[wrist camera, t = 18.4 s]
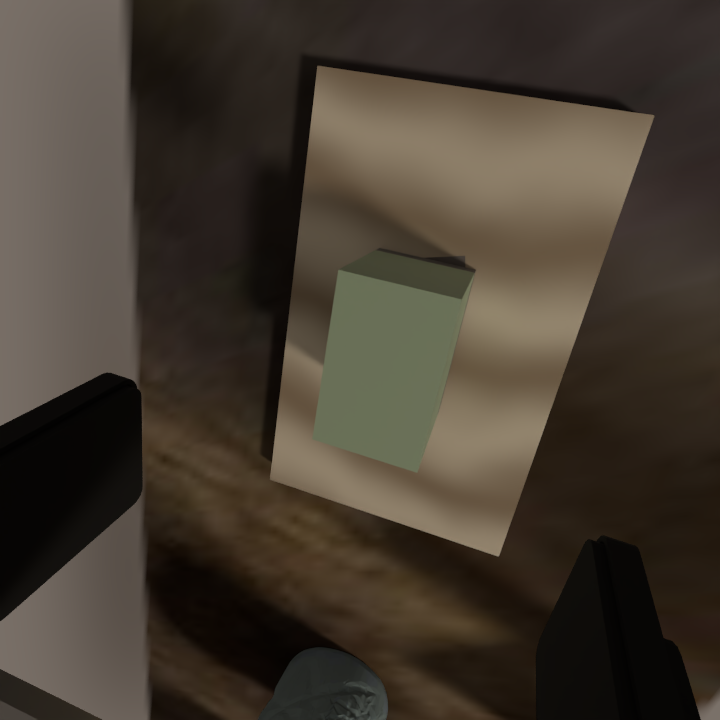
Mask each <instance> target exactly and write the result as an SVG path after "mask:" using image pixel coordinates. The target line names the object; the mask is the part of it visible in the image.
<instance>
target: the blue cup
mask: <svg viewBox="0 0 720 720" xmlns="http://www.w3.org/2000/svg"><path fill="white" fill-rule="evenodd" d="M387 712H388V701H387V693H386V692H385V688H384V686H383V684H382V682H381V680H380V679H379V677H378V676H377V675H376V674H375V673H374V672H373V671H372V670H371V669H370V668H369V667H368V666H367V665H366V664H364V663H363V662H362V661H360V660H359V659H357V658H355V657H354V656H352V655H350V654H348V653H345V652H342V651H339V650H336V649H332V648H323V647H315V648H310V649H306V650H304V651H302V652H300V653H299V654H297V655H296V656H295V657H294V658H293V659H292V660H291V661H290V663H289V665H288V666H287V668H286V670H285V672H284V673H283V675H282V677H281V679H280V680H279V682H278V684H277V686H276V688H275V692H274V696H273V698H272V699H271V700H270V701H269V702H268V703H267V706H266V707H265V708H264V709H263V711H262V712H261V714H260V716H259V718H258V720H386V717H387Z"/></svg>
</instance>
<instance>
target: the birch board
mask: <svg viewBox="0 0 720 720" xmlns="http://www.w3.org/2000/svg"><path fill="white" fill-rule="evenodd" d="M653 118H654V115H648V114H641V113H634V112H627V111H621V110H614V109H607V108H600V107H594V106H587V105H580V104H573V103H567V102H560V101H553V100H546V99H539V98H533V97H526V96H519V95H512V94H506V93H499V92H492V91H485V90H479V89H472V88H465V87H458V86H452V85H445V84H438V83H431V82H425V81H418V80H411V79H404V78H397V77H391V76H384V75H377V74H370V73H364V72H357V71H350V70H343V69H337V68H330V67H323V66H317V74H316V83H315V92H314V100H313V109H312V118H311V127H310V135H309V144H308V153H307V162H306V170H305V179H304V188H303V196H302V205H301V214H300V223H299V231H298V240H297V249H296V258H295V266H294V275H293V284H292V292H291V301H290V310H289V319H288V327H287V336H286V345H285V354H284V362H283V371H282V380H281V388H280V397H279V406H278V415H277V423H276V432H275V441H274V450H273V458H272V467H271V476H270V480H273V481H276V482H279V483H282V484H285V485H288V486H291V487H294V488H297V489H300V490H303V491H306V492H309V493H312V494H315V495H317V496H320V497H323V498H326V499H329V500H332V501H335V502H338V503H341V504H344V505H347V506H350V507H353V508H356V509H359V510H362V511H365V512H368V513H371V514H374V515H377V516H380V517H383V518H386V519H389V520H392V521H395V522H397V523H400V524H403V525H406V526H409V527H412V528H415V529H418V530H421V531H424V532H427V533H430V534H433V535H436V536H439V537H442V538H445V539H448V540H451V541H454V542H457V543H460V544H463V545H466V546H469V547H472V548H475V549H477V550H480V551H483V552H486V553H489V554H492V555H495V556H498V557H499V554H500V552H501V549H502V546H503V543H504V540H505V537H506V535H507V532H508V529H509V526H510V523H511V520H512V518H513V515H514V512H515V509H516V506H517V503H518V501H519V498H520V495H521V492H522V489H523V486H524V484H525V481H526V478H527V475H528V472H529V469H530V467H531V464H532V461H533V458H534V455H535V452H536V450H537V447H538V444H539V441H540V438H541V436H542V433H543V430H544V427H545V424H546V421H547V419H548V416H549V413H550V410H551V407H552V404H553V402H554V399H555V396H556V393H557V390H558V387H559V385H560V382H561V379H562V376H563V373H564V370H565V368H566V365H567V362H568V359H569V356H570V353H571V351H572V348H573V345H574V342H575V339H576V336H577V334H578V331H579V328H580V325H581V322H582V319H583V317H584V314H585V311H586V308H587V305H588V302H589V300H590V297H591V294H592V291H593V288H594V285H595V283H596V280H597V277H598V274H599V271H600V268H601V266H602V263H603V260H604V257H605V254H606V251H607V249H608V246H609V243H610V240H611V237H612V234H613V232H614V229H615V226H616V223H617V220H618V217H619V215H620V212H621V209H622V206H623V203H624V200H625V198H626V195H627V192H628V189H629V186H630V183H631V181H632V178H633V175H634V172H635V169H636V167H637V164H638V161H639V158H640V155H641V152H642V150H643V147H644V144H645V141H646V138H647V135H648V133H649V130H650V127H651V124H652V121H653ZM379 248H382V249H387V250H391V251H396V252H400V253H404V254H409V255H413V256H418V257H422V258H426V259H431V260H435V261H439V262H444V263H448V264H453V265H457V266H461V267H466V268H470V269H475V270H476V272H475V276H474V280H473V284H472V287H471V291H470V295H469V299H468V303H467V307H466V310H465V314H464V318H463V322H462V326H461V329H460V333H459V337H458V341H457V345H456V348H455V352H454V356H453V360H452V364H451V368H450V371H449V375H448V379H447V383H446V387H445V390H444V394H443V398H442V402H441V406H440V409H439V413H438V415H437V418H436V421H435V424H434V427H433V430H432V432H431V435H430V438H429V441H428V444H427V447H426V449H425V452H424V455H423V458H422V461H421V464H420V466H419V469H418V472H417V473H416V472H413V471H410V470H407V469H404V468H400V467H397V466H394V465H391V464H388V463H385V462H382V461H378V460H375V459H372V458H369V457H366V456H363V455H360V454H357V453H353V452H350V451H347V450H344V449H341V448H338V447H335V446H331V445H328V444H325V443H322V442H319V441H316V440H313V439H312V437H313V431H314V424H315V418H316V411H317V405H318V399H319V392H320V386H321V379H322V373H323V366H324V360H325V353H326V347H327V340H328V334H329V327H330V321H331V314H332V308H333V301H334V295H335V289H336V282H337V276H338V270H339V269H341V268H343V267H345V266H346V265H348V264H350V263H352V262H354V261H356V260H358V259H360V258H362V257H363V256H365V255H367V254H369V253H371V252H373V251H375V250H377V249H379Z"/></svg>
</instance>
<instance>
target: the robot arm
mask: <svg viewBox="0 0 720 720" xmlns="http://www.w3.org/2000/svg"><path fill="white" fill-rule="evenodd" d="M141 492H142V408H141V392H140V390H138V389H137V385H136V384H135V382H134V381H132V380H131V379H127V378H125V377H122V376H118V375H115V374H112V373H104V374H102V375H100V376H98V377H96V378H94V379H92V380H90V381H88V382H86V383H84V384H82V385H80V386H78V387H76V388H74V389H72V390H70V391H68V392H66V393H64V394H62V395H60V396H59V397H56V398H54V399H52V400H50V401H49V402H47V403H45V404H43V405H41V406H39V407H37V408H35V409H33V410H31V411H29V412H27V413H25V414H23V415H21V416H19V417H17V418H15V419H13V420H12V421H9V422H7V423H5V424H4V425H1V426H0V621H1V620H3V619H4V618H5V617H6V616H7V615H9V613H11V612H12V611H13V610H14V609H15V608H16V607H17V606H19V605H20V604H21V603H22V602H23V601H24V600H26V599H27V598H28V597H29V596H30V595H31V594H32V593H34V592H35V591H36V590H37V589H38V588H39V587H40V586H41V585H43V584H44V583H45V582H46V581H47V580H48V579H49V578H51V577H52V576H53V575H54V574H55V573H56V572H57V571H59V570H60V569H61V568H62V567H63V566H64V565H65V564H67V562H69V561H70V560H71V559H72V558H73V557H74V556H76V555H77V554H78V553H79V552H80V551H81V550H82V549H84V548H85V547H86V546H87V545H88V544H89V543H90V542H91V541H93V540H94V539H95V538H96V537H97V536H98V535H100V534H101V533H102V532H103V531H104V530H105V529H106V528H108V527H109V526H110V525H111V524H112V523H113V522H114V521H115V520H117V519H118V518H119V517H120V516H121V515H122V514H123V513H125V512H126V511H127V510H128V509H129V508H130V507H131V506H133V505H134V504H135V503H136V501H137V500H138V499H139V497H140V495H141ZM536 718H537V720H701V719H700V716H699V712H698V709H697V706H696V703H695V699H694V696H693V693H692V689H691V686H690V683H689V679H688V676H687V673H686V669H685V666H684V663H683V659H682V656H681V654H680V652H679V649H678V647H677V646H676V645H675V644H674V643H673V641H670V640H667V639H665V638H663V635H662V631H661V627H660V624H659V620H658V616H657V613H656V609H655V606H654V602H653V598H652V595H651V591H650V587H649V584H648V580H647V577H646V573H645V569H644V566H643V562H642V558H641V555H640V552H639V549H638V548H637V547H636V546H634V545H631V544H628V543H625V542H622V541H619V540H616V539H613V538H610V537H607V536H604V535H603V536H600V537H599V538H598V540H597V542H596V541H593V540H590V539H589V540H587V541H586V542H585V544H584V546H583V548H582V550H581V552H580V554H579V556H578V559H577V561H576V563H575V565H574V567H573V569H572V571H571V573H570V576H569V578H568V580H567V582H566V584H565V586H564V588H563V591H562V593H561V595H560V597H559V599H558V601H557V603H556V605H555V608H554V610H553V612H552V614H551V616H550V618H549V620H548V622H547V625H546V627H545V629H544V631H543V633H542V635H541V637H540V640H539V643H538V647H537V653H536ZM0 720H102V719H100V718H98V717H95V716H94V715H92V714H90V713H88V712H85V711H84V710H82V709H80V708H78V707H75V706H74V705H72V704H69V703H67V702H66V701H64V700H62V699H60V698H58V697H55V696H54V695H52V694H50V693H47V692H45V691H43V690H41V689H39V688H37V687H35V686H33V685H31V684H29V683H27V682H25V681H23V680H21V679H19V678H17V677H15V676H13V675H11V674H9V673H7V672H5V671H3V670H1V669H0Z"/></svg>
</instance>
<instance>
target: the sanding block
mask: <svg viewBox="0 0 720 720" xmlns="http://www.w3.org/2000/svg"><path fill="white" fill-rule="evenodd" d="M475 272H476V270H475V269H470V268H466V267H461V266H457V265H453V264H448V263H444V262H439V261H435V260H431V259H426V258H422V257H418V256H413V255H409V254H404V253H400V252H396V251H391V250H387V249H382V248H379V249H377V250H375V251H373V252H371V253H369V254H367V255H365V256H363V257H362V258H360V259H358V260H356V261H354V262H352V263H350V264H348V265H346V266H345V267H343V268H341V269H339V270H338V276H337V282H336V289H335V295H334V301H333V308H332V314H331V321H330V327H329V334H328V340H327V347H326V353H325V360H324V366H323V373H322V379H321V386H320V392H319V399H318V405H317V411H316V418H315V424H314V431H313V437H312V439H313V440H316V441H319V442H322V443H325V444H328V445H331V446H335V447H338V448H341V449H344V450H347V451H350V452H353V453H357V454H360V455H363V456H366V457H369V458H372V459H375V460H378V461H382V462H385V463H388V464H391V465H394V466H397V467H400V468H404V469H407V470H410V471H413V472H416V473H417V472H418V469H419V466H420V464H421V461H422V458H423V455H424V452H425V449H426V447H427V444H428V441H429V438H430V435H431V432H432V430H433V427H434V424H435V421H436V418H437V415H438V413H439V409H440V406H441V402H442V398H443V394H444V390H445V387H446V383H447V379H448V375H449V371H450V368H451V364H452V360H453V356H454V352H455V348H456V345H457V341H458V337H459V333H460V329H461V326H462V322H463V318H464V314H465V310H466V307H467V303H468V299H469V295H470V291H471V287H472V284H473V280H474V276H475Z"/></svg>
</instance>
